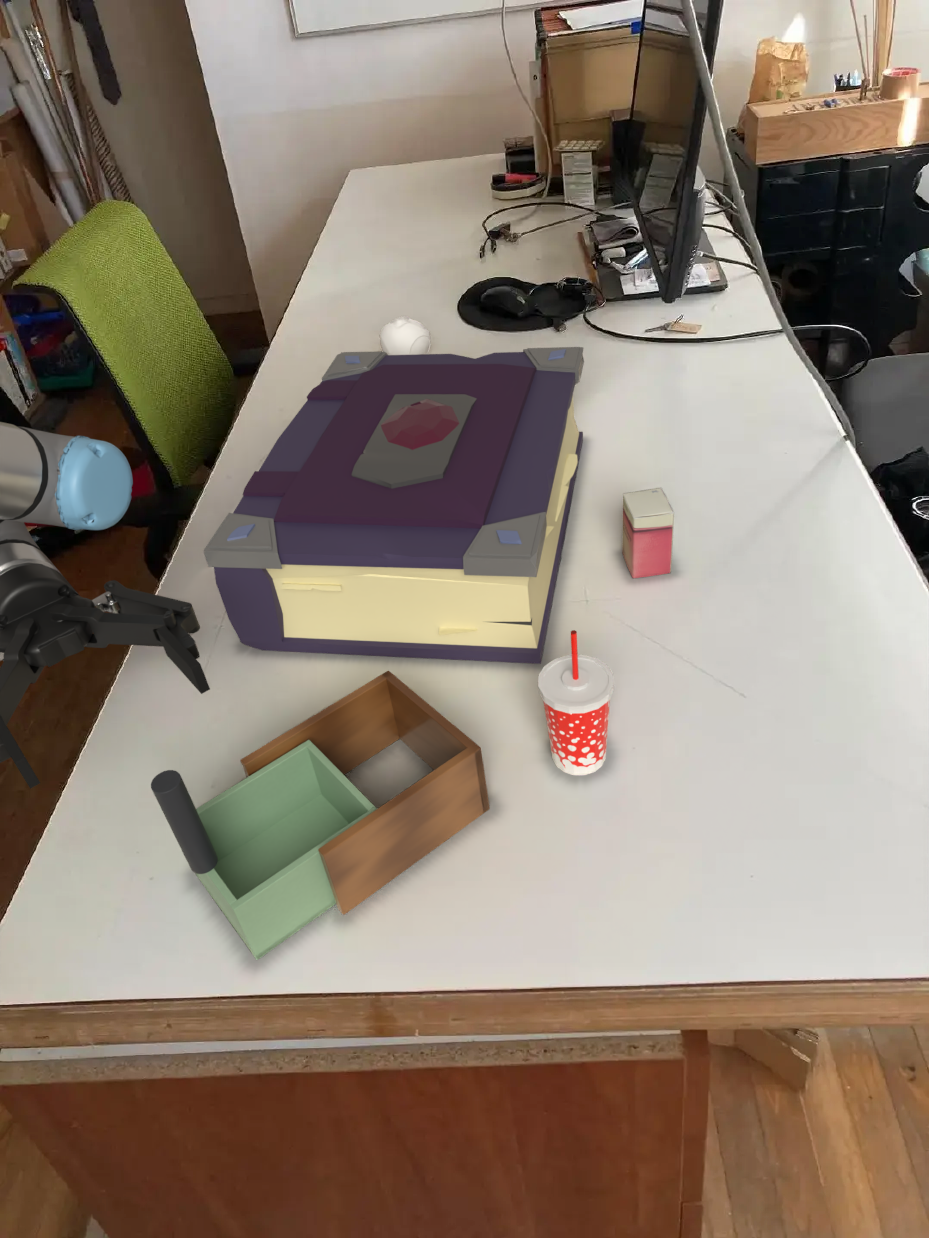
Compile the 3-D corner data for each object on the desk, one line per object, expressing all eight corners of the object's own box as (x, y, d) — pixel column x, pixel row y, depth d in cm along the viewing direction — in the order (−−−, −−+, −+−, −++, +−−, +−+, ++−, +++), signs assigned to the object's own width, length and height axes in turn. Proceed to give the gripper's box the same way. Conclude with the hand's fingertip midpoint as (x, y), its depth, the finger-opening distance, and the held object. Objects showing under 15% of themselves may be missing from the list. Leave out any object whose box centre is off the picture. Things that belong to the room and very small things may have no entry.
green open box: (248, 966, 68) (185, 835, 58) (188, 879, 74) (121, 748, 65) (393, 862, 73) (357, 727, 64) (325, 790, 80) (283, 657, 70)
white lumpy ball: (438, 354, 148) (432, 306, 143) (426, 375, 143) (419, 326, 138) (391, 354, 150) (383, 307, 145) (377, 375, 144) (368, 327, 140)
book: (225, 651, 96) (184, 540, 87) (347, 437, 130) (327, 341, 121) (545, 667, 89) (536, 547, 80) (587, 436, 123) (584, 334, 114)
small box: (621, 553, 102) (621, 491, 97) (659, 547, 102) (661, 485, 97) (632, 580, 98) (632, 518, 93) (672, 574, 98) (675, 511, 93)
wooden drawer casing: (343, 915, 70) (323, 855, 66) (262, 819, 78) (239, 759, 74) (490, 809, 77) (481, 747, 72) (401, 730, 85) (388, 669, 80)
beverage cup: (608, 787, 77) (607, 663, 68) (536, 777, 79) (525, 654, 70) (619, 733, 81) (619, 610, 73) (551, 725, 83) (542, 603, 74)
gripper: (168, 572, 90) (275, 678, 76) (-100, 701, 79) (-30, 851, 65) (142, 507, 85) (253, 607, 71) (-145, 634, 74) (-81, 781, 61)
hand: (118, 724), depth 68 cm, fingers open, 13 cm apart
